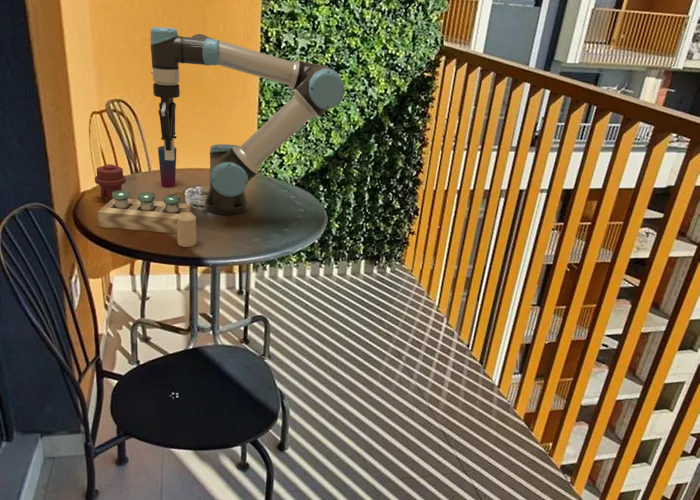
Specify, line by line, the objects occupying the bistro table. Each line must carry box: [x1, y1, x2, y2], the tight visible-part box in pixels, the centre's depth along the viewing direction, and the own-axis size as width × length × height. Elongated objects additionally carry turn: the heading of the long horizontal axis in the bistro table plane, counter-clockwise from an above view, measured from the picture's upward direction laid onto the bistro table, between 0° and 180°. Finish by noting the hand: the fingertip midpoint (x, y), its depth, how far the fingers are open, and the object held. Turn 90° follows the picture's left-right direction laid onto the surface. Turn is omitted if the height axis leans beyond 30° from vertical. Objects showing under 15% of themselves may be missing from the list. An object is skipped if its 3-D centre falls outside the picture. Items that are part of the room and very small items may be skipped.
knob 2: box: [163, 193, 181, 214], centre depth 175 cm, size 5×5×8 cm
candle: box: [176, 212, 197, 248], centre depth 163 cm, size 6×6×10 cm
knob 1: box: [112, 189, 131, 209], centre depth 174 cm, size 5×5×8 cm
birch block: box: [97, 198, 194, 234], centre depth 175 cm, size 26×14×5 cm, turn 92°
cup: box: [157, 145, 177, 188], centre depth 209 cm, size 7×7×15 cm
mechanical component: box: [94, 164, 127, 203], centre depth 189 cm, size 12×10×10 cm
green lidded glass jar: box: [137, 191, 156, 212], centre depth 174 cm, size 5×5×8 cm
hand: (169, 159), depth 171 cm, fingers closed
